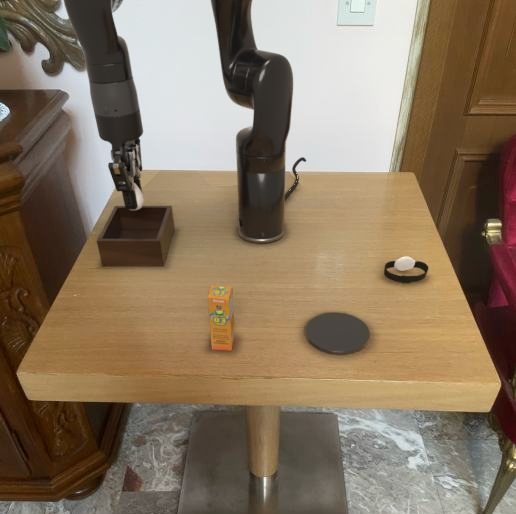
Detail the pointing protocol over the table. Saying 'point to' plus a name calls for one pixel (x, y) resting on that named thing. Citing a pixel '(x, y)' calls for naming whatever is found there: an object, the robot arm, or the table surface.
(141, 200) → the egg
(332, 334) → the coaster
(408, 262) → the watch
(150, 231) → the crate
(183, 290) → the table surface
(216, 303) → the supplement box
